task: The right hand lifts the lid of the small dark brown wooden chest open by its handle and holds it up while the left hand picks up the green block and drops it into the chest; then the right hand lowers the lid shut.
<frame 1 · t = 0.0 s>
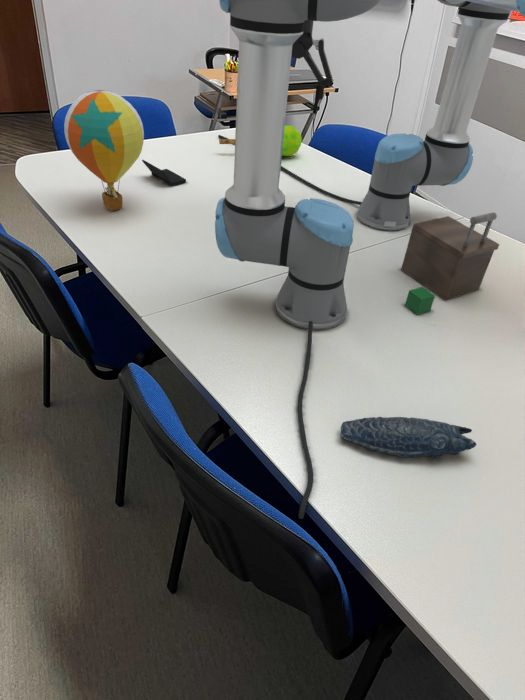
left hand: (288, 109, 135), 28 cm above the table, tool pointing down, fingers open, 13 cm apart
block: (417, 308, 117), on the table
fish model: (402, 444, 84), on the table
pill bottle: (255, 240, 137), on the table
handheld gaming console: (164, 180, 164), on the table
decorative tree: (260, 156, 189), on the table
chest: (439, 279, 128), on the table
lid: (459, 222, 118), point 15 cm above the table, hinge at -0.1°
toy: (113, 208, 145), on the table
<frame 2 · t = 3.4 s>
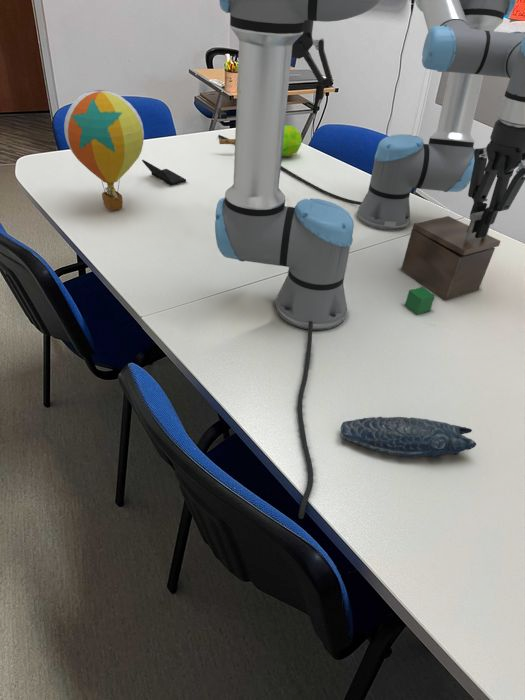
left hand: (288, 109, 135), 28 cm above the table, tool pointing down, fingers open, 13 cm apart
right hand: (476, 234, 115), 15 cm above the table, tool pointing down, fingers closed on lid, 2 cm apart
lid: (459, 220, 118), point 16 cm above the table, hinge at 2.8°, touching right hand
everything else where it was.
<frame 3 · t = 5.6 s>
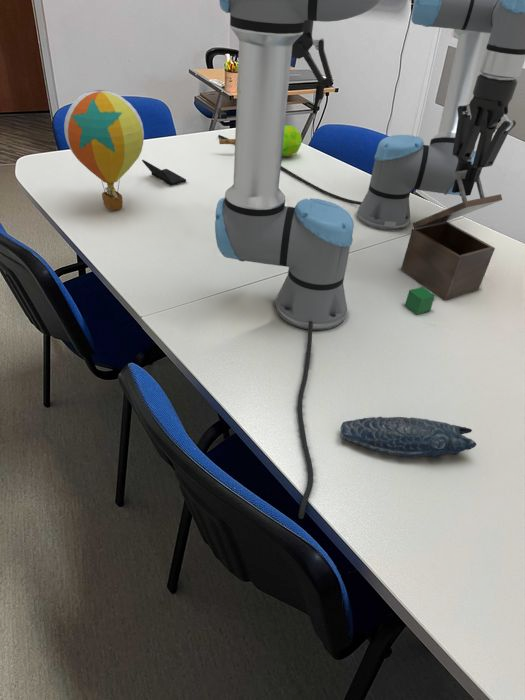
left hand: (288, 109, 135), 28 cm above the table, tool pointing down, fingers open, 13 cm apart
right hand: (461, 193, 115), 21 cm above the table, tool pointing down, fingers closed on lid, 2 cm apart
lid: (451, 197, 118), point 20 cm above the table, hinge at 40.3°, touching right hand
everything else where it was.
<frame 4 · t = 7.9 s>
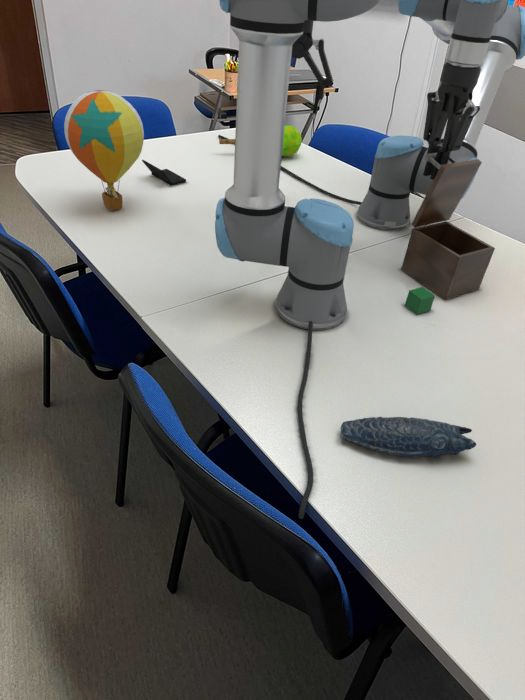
left hand: (288, 109, 135), 28 cm above the table, tool pointing down, fingers open, 13 cm apart
right hand: (431, 176, 121), 22 cm above the table, tool pointing down, fingers closed on lid, 2 cm apart
lid: (435, 185, 121), point 20 cm above the table, hinge at 76.4°, touching right hand
everything else where it was.
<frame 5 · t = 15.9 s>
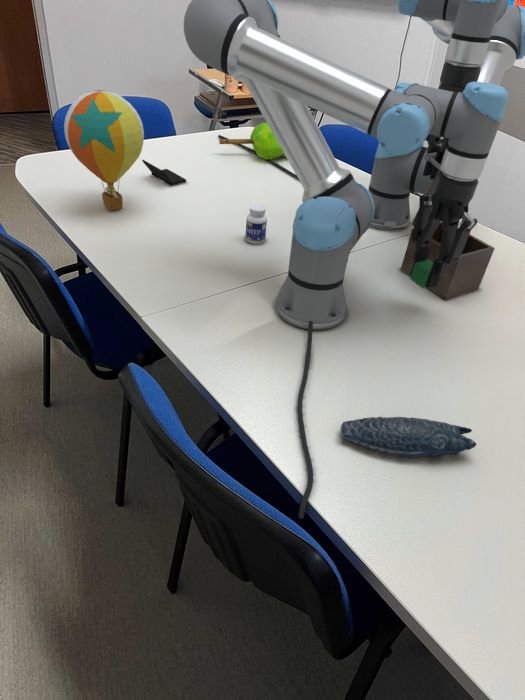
left hand: (423, 280, 113), 7 cm above the table, tool pointing down, fingers closed on block, 4 cm apart
right hand: (431, 176, 121), 22 cm above the table, tool pointing down, fingers closed on lid, 2 cm apart
block: (423, 281, 113), point 7 cm above the table, touching left hand
lid: (435, 185, 121), point 20 cm above the table, hinge at 76.6°, touching right hand
everything else where it was.
when the left hand's fingers open (17 cm above the table, at t = 18.4 s): block drops 15 cm, resting on chest.
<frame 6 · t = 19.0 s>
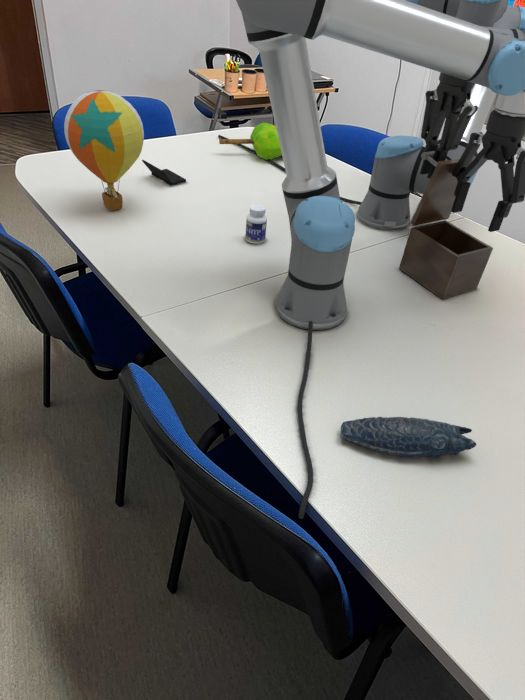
left hand: (474, 220, 114), 17 cm above the table, tool pointing down, fingers open, 10 cm apart
right hand: (428, 175, 122), 22 cm above the table, tool pointing down, fingers closed on lid, 2 cm apart
block: (448, 282, 125), point 1 cm above the table, touching chest
chest: (436, 278, 128), on the table, touching block
lid: (433, 183, 121), point 21 cm above the table, hinge at 79.8°, touching left hand, right hand
everything else where it was.
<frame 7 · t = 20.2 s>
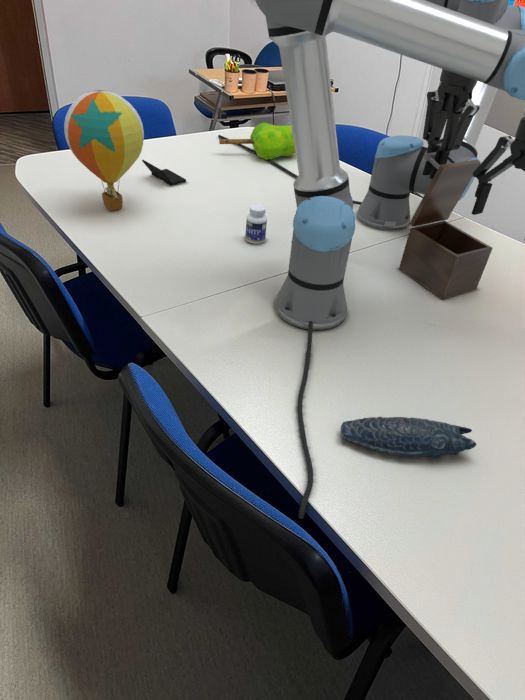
left hand: (502, 226, 109), 19 cm above the table, tool pointing down, fingers open, 13 cm apart
right hand: (431, 176, 121), 22 cm above the table, tool pointing down, fingers closed on lid, 2 cm apart
lid: (434, 185, 121), point 20 cm above the table, hinge at 75.4°, touching right hand
everything else where it was.
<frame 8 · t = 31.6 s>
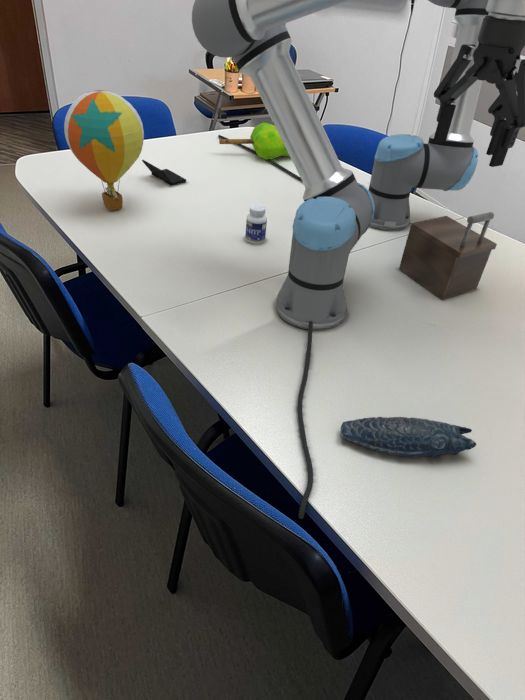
left hand: (466, 153, 95), 34 cm above the table, tool pointing down, fingers open, 13 cm apart
right hand: (519, 165, 102), 31 cm above the table, tool pointing down, fingers open, 13 cm apart
lid: (457, 221, 118), point 15 cm above the table, hinge at -0.1°
everything else where it was.
at the end: block inside the target area in the chest (3.4 cm from its centre), point 0.9 cm above the chest's base; lid at +0° (first picture: +0°); the left hand is holding nothing; the right hand is holding nothing; chest tilted 0°; chest moved 0.6 cm from its start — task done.
